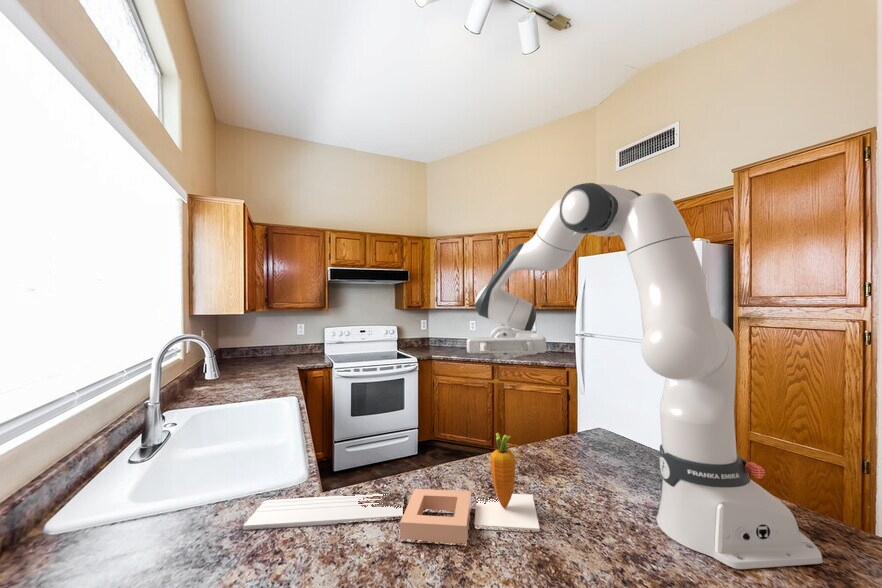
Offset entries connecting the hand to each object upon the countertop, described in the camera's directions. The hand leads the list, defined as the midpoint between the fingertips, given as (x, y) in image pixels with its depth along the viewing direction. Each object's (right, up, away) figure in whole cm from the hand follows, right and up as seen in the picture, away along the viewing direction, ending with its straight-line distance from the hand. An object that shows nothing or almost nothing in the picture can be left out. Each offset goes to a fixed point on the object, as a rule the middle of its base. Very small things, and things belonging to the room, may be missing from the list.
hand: (506, 347), depth 85 cm
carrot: (-3, -31, -13) cm, 34 cm away
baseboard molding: (-39, -34, -10) cm, 52 cm away
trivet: (-3, -31, -13) cm, 34 cm away
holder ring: (-16, -32, -16) cm, 39 cm away
